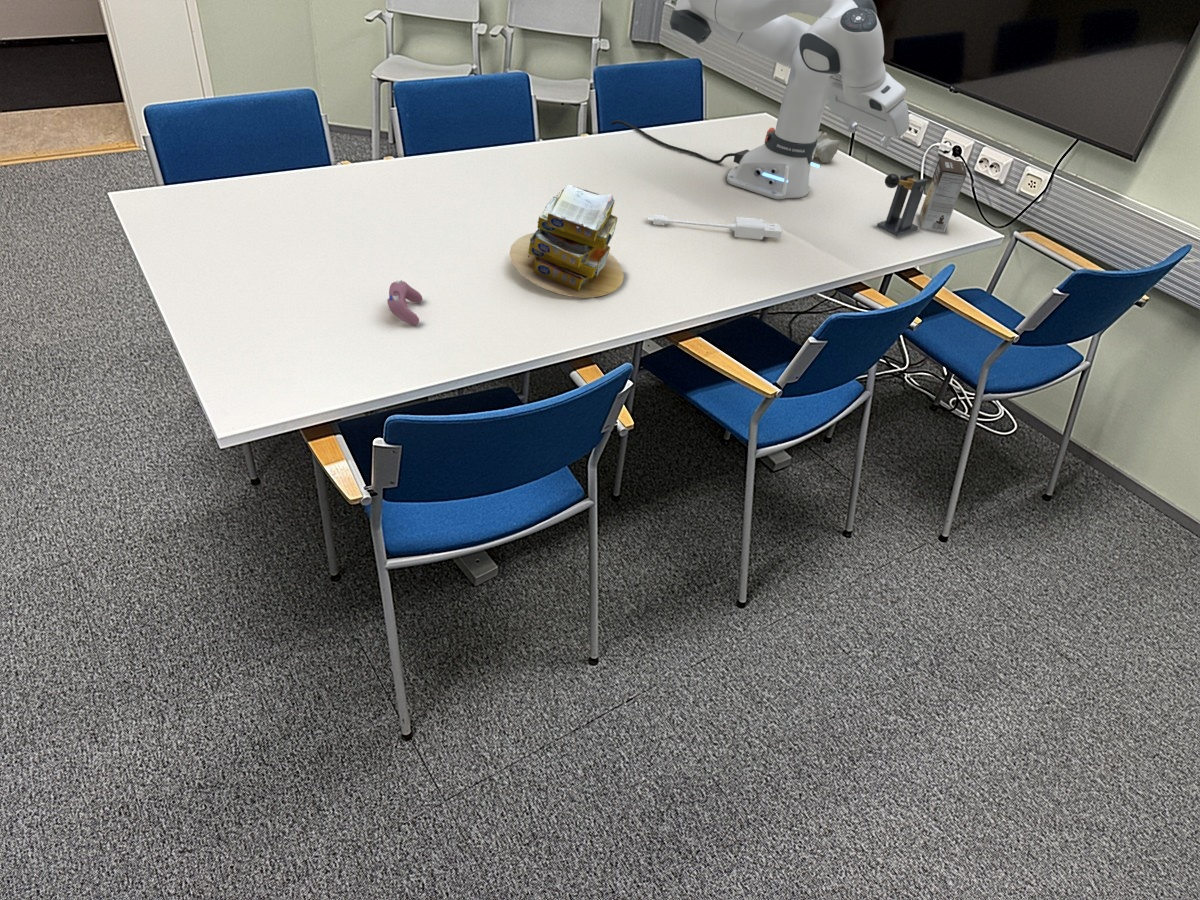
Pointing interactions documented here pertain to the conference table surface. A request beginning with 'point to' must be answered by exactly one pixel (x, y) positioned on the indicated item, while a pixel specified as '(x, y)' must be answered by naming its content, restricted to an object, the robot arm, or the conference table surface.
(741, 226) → the charging cable
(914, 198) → the dark grey upright bracket
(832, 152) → the ceramic sculpture
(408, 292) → the video game controller
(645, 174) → the conference table surface
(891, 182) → the flush lever
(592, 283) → the stack of yellow boxes
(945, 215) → the coffee box
